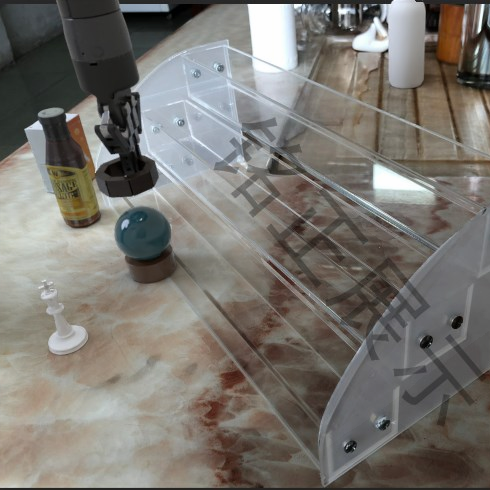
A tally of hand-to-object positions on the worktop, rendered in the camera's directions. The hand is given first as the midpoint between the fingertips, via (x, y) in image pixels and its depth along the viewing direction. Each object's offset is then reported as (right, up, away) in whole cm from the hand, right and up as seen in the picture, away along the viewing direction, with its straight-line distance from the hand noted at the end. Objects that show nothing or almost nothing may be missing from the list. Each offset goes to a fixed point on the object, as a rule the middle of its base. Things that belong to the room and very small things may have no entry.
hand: (135, 171), depth 85 cm
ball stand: (+1, -14, +6) cm, 15 cm away
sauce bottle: (-15, -6, +20) cm, 25 cm away
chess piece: (-7, -23, -7) cm, 25 cm away
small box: (-22, +1, +31) cm, 38 cm away
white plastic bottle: (+48, +30, +66) cm, 87 cm away
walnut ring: (0, -2, -2) cm, 3 cm away
